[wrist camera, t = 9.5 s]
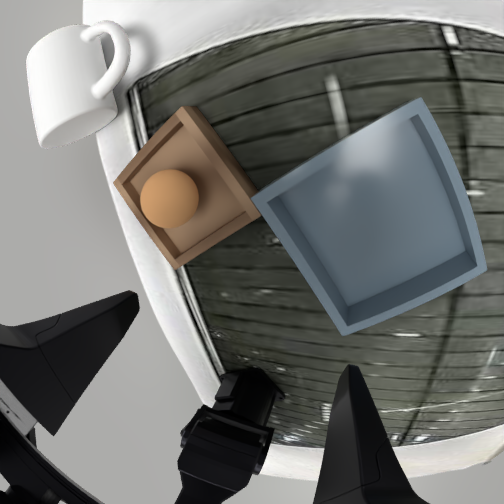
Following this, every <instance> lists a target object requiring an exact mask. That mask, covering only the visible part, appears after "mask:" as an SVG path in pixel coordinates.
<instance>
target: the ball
mask: <svg viewBox="0 0 504 504" xmlns="http://www.w3.org/2000/svg"><path fill="white" fill-rule="evenodd" d="M198 202H199V194H198V189H197V186H196V184H195V183H194V181H193V180H192V178H191V177H189V176H188V175H187V174H186V173H184V172H182V171H179V170H175V169H166V170H162V171H159V172H157V173H155V174H153V175H152V176H151V177H150V178H149V179H148V180H147V181H146V183H145V184H144V186H143V188H142V191H141V197H140V203H141V208H142V211H143V213H144V215H145V216H146V218H147V219H148V220H149V221H150V222H151V223H153V224H154V225H156V226H159V227H162V228H176V227H179V226H181V225H183V224H185V223H186V222H188V221H189V220H190V219H191V218H192V216H193V215H194V213H195V212H196V209H197V207H198Z"/></svg>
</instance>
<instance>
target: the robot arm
mask: <svg viewBox="0 0 504 504" xmlns="http://www.w3.org/2000/svg"><path fill="white" fill-rule="evenodd" d="M139 309H140V307H139V300H138V295H137V293H135V292H132V291H130V290H128V291H125V292H122V293H119V294H116V295H113V296H110V297H108V298H105V299H102V300H99V301H96V302H93V303H90V304H87V305H84V306H81V307H78V308H75V309H73V310H70V311H67V312H64V313H62V314H58V315H55V316H52V317H49V318H46V319H42V320H39V321H35V322H31V323H26V324H23V325H18V326H5V325H2V324H0V473H1V474H2V475H3V477H4V478H5V479H6V480H7V482H8V483H9V484H10V486H9V488H8V489H7V490H6V492H3V491H1V490H0V504H58V503H59V501H60V500H61V501H63V502H65V503H66V504H104V503H103V502H101V501H100V500H98V499H97V498H96V497H94V496H93V495H91V494H90V493H88V492H87V491H86V490H84V489H83V488H81V487H80V486H79V485H78V484H77V483H75V482H74V481H73V480H71V479H70V478H69V477H68V476H66V475H65V474H64V473H63V472H62V471H61V470H59V469H58V468H57V467H56V466H55V465H54V464H53V463H52V462H50V461H49V460H48V459H47V458H46V457H45V456H44V455H43V454H42V453H41V452H40V451H39V450H38V449H37V446H36V437H35V428H34V426H35V424H36V423H37V422H39V423H40V424H41V425H42V426H43V427H44V428H45V429H46V430H47V431H48V432H49V433H50V434H51V435H53V436H54V435H55V434H56V433H57V431H58V430H59V428H60V427H61V425H62V423H63V422H64V420H65V419H66V417H67V416H68V414H69V413H70V411H71V410H72V408H73V407H74V406H75V404H76V402H77V401H78V399H79V398H80V397H81V395H82V394H83V392H84V390H85V389H86V388H87V387H88V385H89V384H90V382H91V381H92V380H93V378H94V377H95V375H96V374H97V373H98V371H99V370H100V368H101V367H102V366H103V364H104V363H105V362H106V360H107V359H108V357H109V356H110V355H111V353H112V352H113V351H114V349H115V348H116V347H117V345H118V344H119V343H120V341H121V340H122V338H123V337H124V335H125V334H126V332H127V330H128V329H129V327H130V325H131V324H132V322H133V321H134V318H135V317H136V316H137V314H138V312H139ZM220 380H221V381H222V384H221V386H220V388H219V390H218V392H217V394H216V396H215V400H216V402H215V404H214V406H213V407H212V408H210V407H208V406H207V405H204V404H203V406H202V407H201V409H198V410H197V412H196V414H195V415H194V417H193V418H192V419H191V421H190V422H189V423H188V424H187V425H186V426H185V427H184V428H183V429H182V431H181V433H180V434H181V436H182V440H181V445H180V446H181V448H183V450H182V452H181V454H180V456H179V459H178V461H177V462H178V470H179V471H180V475H181V481H182V486H183V488H182V490H181V492H180V494H179V496H178V498H177V500H176V502H175V504H221V503H222V502H223V501H225V500H227V499H228V498H230V497H231V496H233V495H234V494H236V493H237V492H238V491H240V490H241V489H243V488H245V487H246V486H247V485H248V483H249V480H250V478H251V476H252V474H255V475H258V474H259V473H260V471H261V469H262V466H263V464H264V462H265V459H266V456H267V453H268V450H269V447H270V443H271V440H272V436H273V433H274V429H275V428H271V427H270V428H269V427H266V424H267V421H268V419H269V416H270V413H271V410H272V407H273V404H274V402H275V401H281V400H284V399H285V395H284V394H283V393H282V392H281V391H280V390H279V389H278V388H277V387H276V386H275V384H274V383H273V382H272V381H271V380H270V379H269V378H268V377H267V376H266V375H265V374H264V373H263V372H262V371H261V369H259V368H251V369H247V370H242V371H238V372H233V373H228V374H223V375H221V376H220ZM387 437H388V436H387V433H386V431H385V428H384V426H383V423H382V421H381V418H380V416H379V413H378V411H377V409H376V406H375V404H374V401H373V399H372V397H371V394H370V392H369V390H368V387H367V385H366V383H365V380H364V378H363V376H362V373H361V371H360V369H359V367H358V366H355V365H351V364H349V365H347V367H346V368H345V370H344V371H343V373H342V374H341V376H340V378H339V381H338V385H337V390H336V394H335V398H334V402H333V405H332V409H331V413H330V419H329V425H328V432H327V438H326V444H325V449H324V455H323V460H322V465H321V470H320V475H319V480H318V485H317V489H316V493H315V497H314V502H313V504H429V503H427V502H426V501H424V500H423V499H421V498H420V497H419V496H418V495H417V494H416V493H415V492H414V491H413V489H412V488H411V485H410V483H409V481H408V479H407V477H406V475H405V474H404V472H403V470H402V468H401V466H400V464H399V462H398V460H397V458H396V456H395V453H394V451H393V448H392V446H391V443H390V441H389V438H387Z"/></svg>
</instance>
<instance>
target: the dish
mask: <svg viewBox="0 0 504 504" xmlns="http://www.w3.org/2000/svg"><path fill="white" fill-rule="evenodd" d="M250 199H251V200H252V201H253V203H254V204H255V206H256V207H257V209H258V210H259V211H260V213H261V214H262V216H263V217H264V219H265V220H266V222H267V223H268V224H269V226H270V227H271V229H272V230H273V232H274V233H275V235H276V236H277V238H278V239H279V241H280V242H281V243H282V245H283V246H284V248H285V249H286V251H287V252H288V254H289V255H290V257H291V258H292V260H293V261H294V263H295V264H296V266H297V267H298V269H299V270H300V272H301V273H302V275H303V276H304V278H305V279H306V281H307V282H308V284H309V285H310V287H311V288H312V290H313V291H314V293H315V294H316V296H317V297H318V299H319V301H320V302H321V304H322V305H323V307H324V308H325V310H326V311H327V313H328V314H329V316H330V318H331V319H332V321H333V322H334V324H335V325H336V327H337V328H338V330H339V332H340V333H341V335H342V336H345V335H348V334H350V333H353V332H356V331H359V330H361V329H364V328H367V327H369V326H372V325H374V324H377V323H379V322H382V321H384V320H387V319H389V318H392V317H394V316H396V315H399V314H401V313H403V312H406V311H408V310H410V309H412V308H415V307H417V306H419V305H421V304H423V303H426V302H428V301H430V300H432V299H434V298H436V297H438V296H440V295H442V294H444V293H446V292H448V291H450V290H452V289H454V288H456V287H458V286H460V285H462V284H463V283H465V282H467V281H469V280H471V279H473V278H474V277H476V276H478V275H480V274H481V273H483V272H485V271H487V266H486V261H485V256H484V252H483V247H482V243H481V239H480V235H479V231H478V228H477V224H476V221H475V217H474V214H473V211H472V208H471V205H470V202H469V199H468V196H467V193H466V190H465V187H464V185H463V182H462V179H461V177H460V174H459V172H458V169H457V167H456V164H455V162H454V160H453V157H452V155H451V153H450V151H449V149H448V146H447V144H446V142H445V140H444V138H443V136H442V134H441V132H440V130H439V128H438V126H437V124H436V122H435V121H434V119H433V117H432V115H431V113H430V112H429V110H428V108H427V106H426V105H425V103H424V101H423V100H422V98H421V97H419V98H416V99H413V100H410V101H407V102H406V103H404V104H402V105H400V106H398V107H396V108H394V109H393V110H391V111H389V112H387V113H385V114H384V115H382V116H380V117H378V118H376V119H375V120H373V121H371V122H369V123H368V124H366V125H364V126H362V127H361V128H359V129H357V130H355V131H354V132H352V133H350V134H349V135H347V136H345V137H343V138H342V139H340V140H338V141H337V142H335V143H333V144H332V145H330V146H328V147H327V148H325V149H323V150H322V151H320V152H318V153H317V154H315V155H314V156H312V157H310V158H309V159H307V160H305V161H304V162H302V163H301V164H299V165H297V166H296V167H294V168H293V169H291V170H290V171H288V172H286V173H285V174H283V175H282V176H280V177H279V178H277V179H275V180H274V181H272V182H271V183H269V184H268V185H266V186H265V187H263V188H262V189H261V190H260V191H258V192H257V193H256V194H255V195H254V196H253V197H251V198H250Z"/></svg>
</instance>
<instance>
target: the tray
mask: <svg viewBox="0 0 504 504" xmlns="http://www.w3.org/2000/svg"><path fill="white" fill-rule="evenodd" d="M166 169H175V170H179V171H182V172H184V173H186V174H187V175H188V176H189V177H191V178H192V180H193V181H194V183H195V184H196V186H197V189H198V194H199V202H198V207H197V209H196V212H195V213H194V215H193V216H192V218H191V219H190V220H189V221H188V222H186V223H185V224H183V225H181V226H179V227H176V228H162V227H159V226H156V225H154V224H153V223H151V222H150V221H149V220H148V219H147V218H146V216H145V215H144V213H143V211H142V208H141V203H140V197H141V191H142V188H143V186H144V184H145V183H146V181H147V180H148V179H149V178H150V177H151V176H152V175H153V174H155V173H157V172H159V171H162V170H166ZM113 184H114V185H115V187H116V188H117V190H118V191H119V193H120V194H121V196H122V197H123V199H124V200H125V202H126V203H127V205H128V206H129V208H130V209H131V211H132V212H133V213H134V215H135V216H136V218H137V219H138V221H139V222H140V223H141V225H142V226H143V228H144V229H145V231H146V232H147V233H148V235H149V236H150V238H151V239H152V240H153V242H154V243H155V244H156V246H157V247H158V248H159V250H160V251H161V253H162V254H163V255H164V257H165V258H166V259H167V261H168V262H169V263H170V265H171V266H172V267H173V268H174V270H176V269H178V268H179V267H181V266H182V265H184V264H185V263H187V262H188V261H190V260H192V259H193V258H195V257H196V256H198V255H199V254H201V253H202V252H204V251H206V250H207V249H209V248H210V247H212V246H213V245H215V244H217V243H218V242H220V241H221V240H223V239H225V238H226V237H228V236H229V235H231V234H233V233H234V232H236V231H237V230H239V229H241V228H242V227H244V226H245V225H247V224H249V223H250V222H252V221H253V220H255V219H257V218H258V217H260V216H262V214H261V213H260V211H259V210H258V209H257V207H256V206H255V204H254V203H253V201H252V200H251V199H250V198H251V197H253V196H254V195H255V194H256V193H257V192H258V190H257V188H256V187H255V186H254V184H253V183H252V181H251V180H250V178H249V177H248V176H247V174H246V173H245V171H244V170H243V169H242V167H241V166H240V164H239V163H238V162H237V160H236V159H235V158H234V156H233V155H232V153H231V152H230V151H229V149H228V148H227V147H226V145H225V144H224V142H223V141H222V140H221V138H220V137H219V136H218V134H217V133H216V132H215V130H214V129H213V128H212V126H211V125H210V124H209V122H208V121H207V120H206V118H205V117H204V116H203V114H202V113H201V112H200V110H199V109H198V108H197V107H194V106H182V107H181V108H180V109H179V110H178V111H177V112H176V113H175V114H174V115H173V116H172V117H171V118H170V119H169V120H168V121H167V122H166V123H165V124H164V125H163V126H162V127H161V128H160V129H159V130H158V131H157V132H156V133H155V134H154V135H153V136H152V137H151V139H150V140H149V141H148V142H147V143H146V144H145V145H144V146H143V147H142V149H141V150H140V151H139V152H138V153H137V154H136V156H135V157H134V158H133V159H132V160H131V161H130V163H129V164H128V165H127V166H126V167H125V169H124V170H123V171H122V172H121V174H120V175H119V176H118V177H117V179H116V180H115V181H114V182H113Z"/></svg>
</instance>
